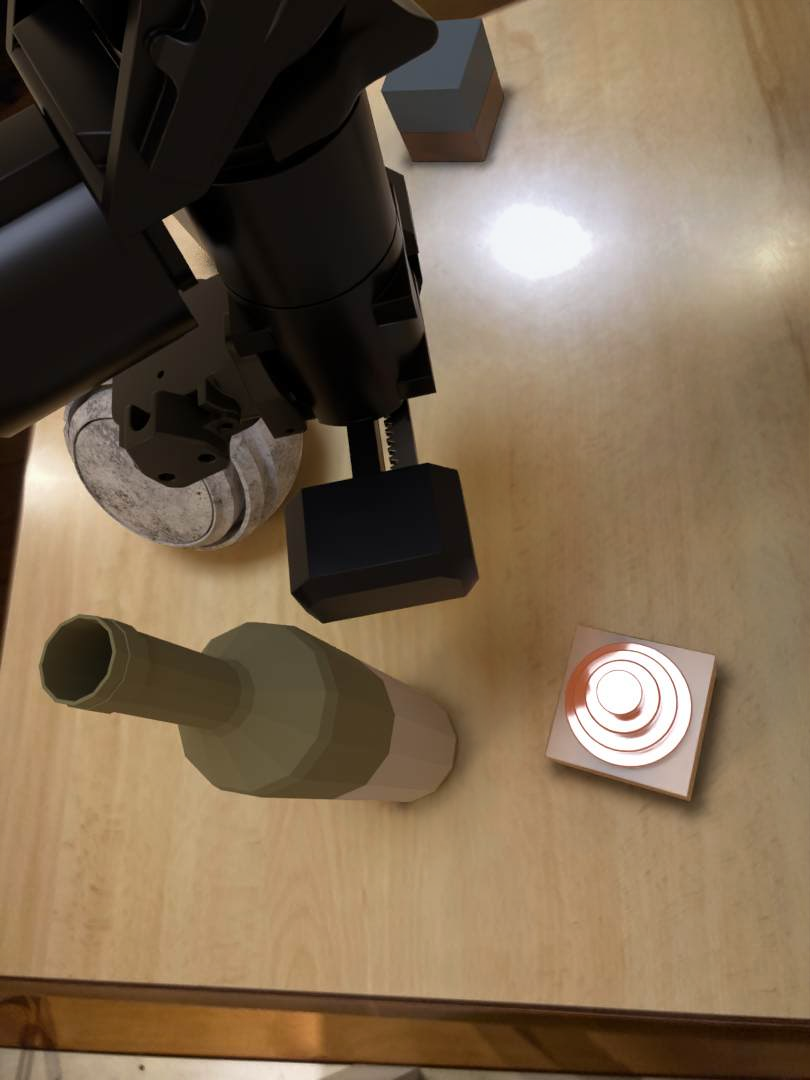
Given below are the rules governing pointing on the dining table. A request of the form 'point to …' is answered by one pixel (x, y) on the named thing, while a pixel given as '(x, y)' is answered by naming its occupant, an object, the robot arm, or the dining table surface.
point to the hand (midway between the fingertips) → (398, 478)
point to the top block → (443, 81)
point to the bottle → (261, 708)
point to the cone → (629, 705)
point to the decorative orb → (180, 513)
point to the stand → (667, 775)
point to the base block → (459, 133)
